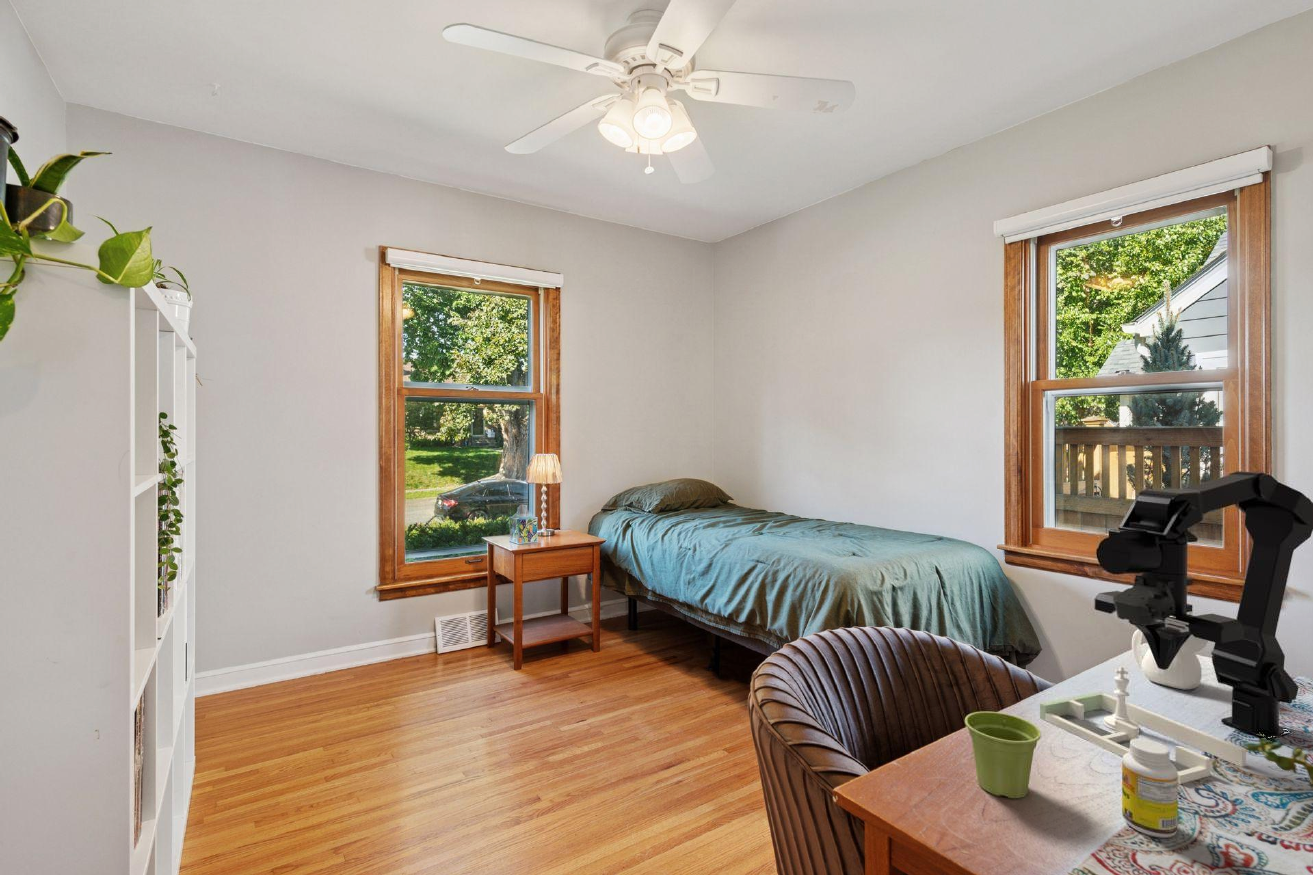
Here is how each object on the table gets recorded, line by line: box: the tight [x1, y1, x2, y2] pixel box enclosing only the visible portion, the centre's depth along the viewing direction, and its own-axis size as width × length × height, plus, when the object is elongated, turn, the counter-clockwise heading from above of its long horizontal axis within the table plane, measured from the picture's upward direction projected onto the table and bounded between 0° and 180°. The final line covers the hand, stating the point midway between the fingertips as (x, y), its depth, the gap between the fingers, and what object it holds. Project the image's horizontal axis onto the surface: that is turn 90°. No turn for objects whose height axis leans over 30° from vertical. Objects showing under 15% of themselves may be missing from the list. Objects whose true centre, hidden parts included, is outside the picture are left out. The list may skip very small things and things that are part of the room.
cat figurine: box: [1131, 611, 1209, 691], centre depth 126 cm, size 9×12×15 cm
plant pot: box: [964, 711, 1042, 799], centre depth 90 cm, size 9×9×9 cm
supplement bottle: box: [1121, 738, 1179, 838], centre depth 81 cm, size 6×6×10 cm
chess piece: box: [1102, 665, 1140, 733], centre depth 108 cm, size 5×5×10 cm
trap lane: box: [1039, 691, 1247, 785], centre depth 103 cm, size 14×22×2 cm, turn 19°
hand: (1162, 668), depth 102 cm, fingers closed
